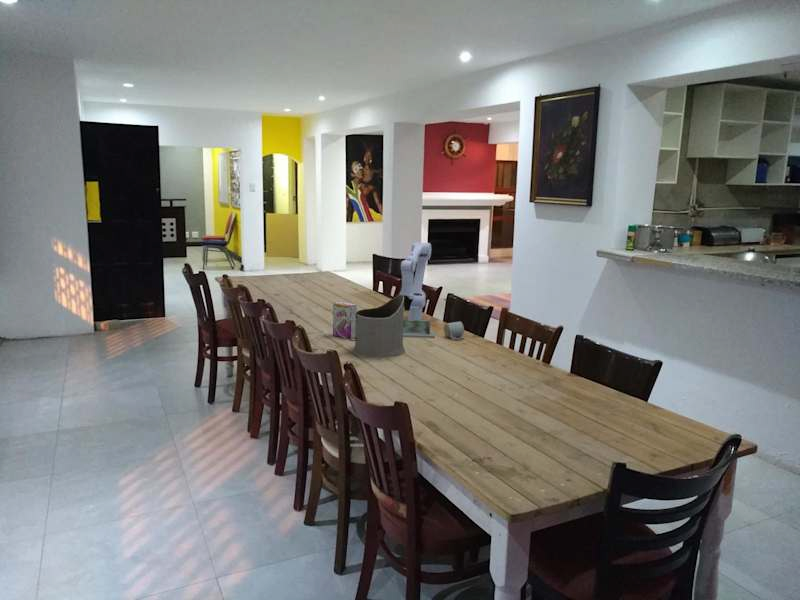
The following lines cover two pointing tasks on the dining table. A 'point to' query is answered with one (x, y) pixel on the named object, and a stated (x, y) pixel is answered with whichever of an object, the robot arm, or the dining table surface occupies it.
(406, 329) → the gate
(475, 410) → the dining table surface
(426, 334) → the gate base
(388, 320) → the pitcher
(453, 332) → the ceramic mug
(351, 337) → the candy bar box
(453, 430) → the dining table surface
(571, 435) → the dining table surface
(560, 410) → the dining table surface
